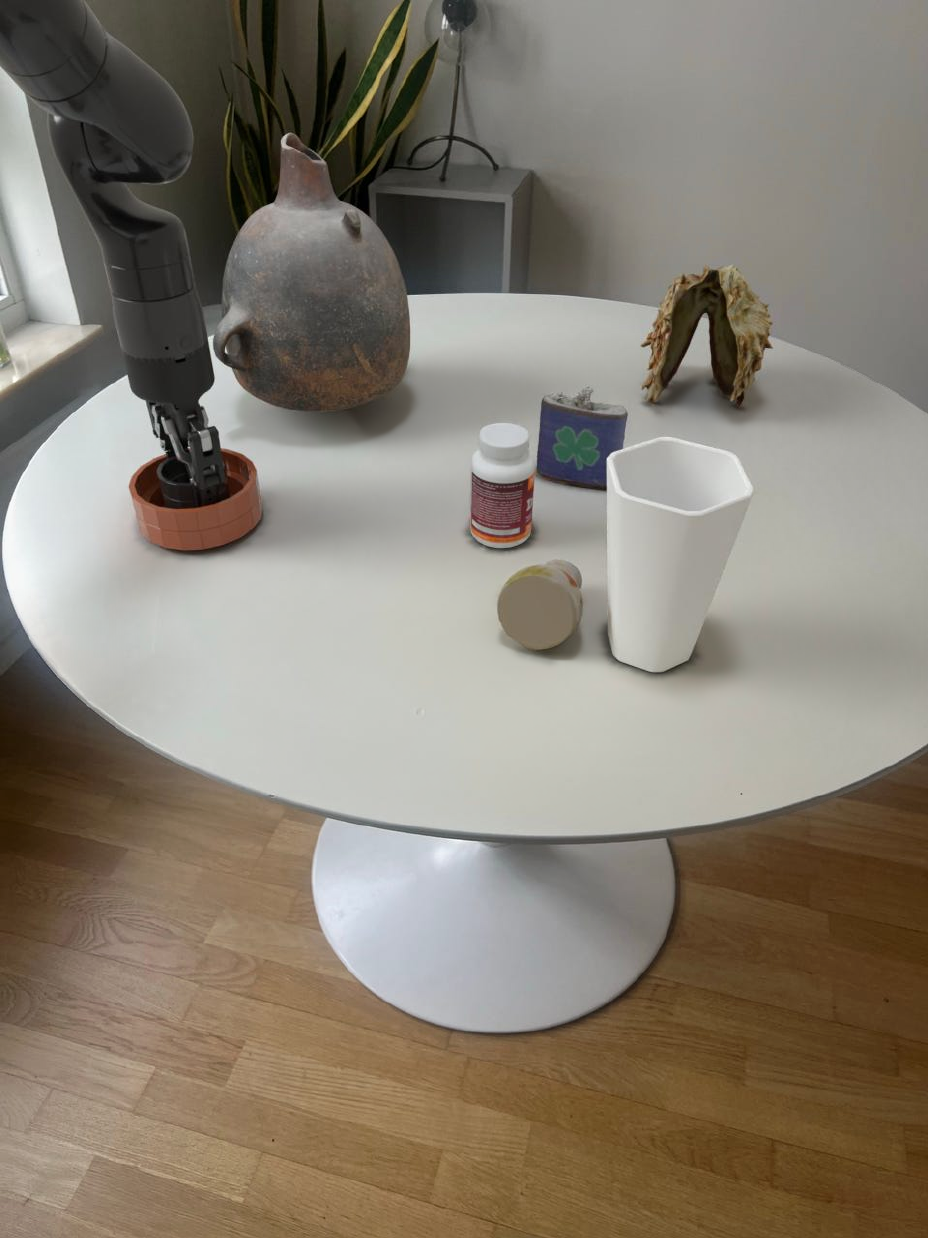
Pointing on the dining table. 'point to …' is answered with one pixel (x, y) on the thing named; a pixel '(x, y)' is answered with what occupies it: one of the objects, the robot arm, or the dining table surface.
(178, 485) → the black bowl
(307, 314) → the jug
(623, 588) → the cup
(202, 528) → the terracotta bowl
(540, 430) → the flask
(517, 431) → the pill bottle
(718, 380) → the seashell
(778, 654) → the dining table surface
